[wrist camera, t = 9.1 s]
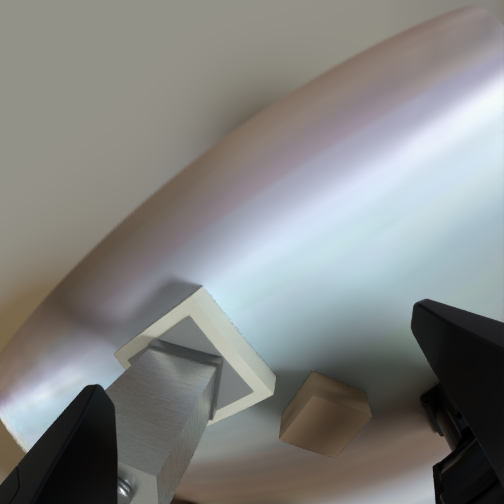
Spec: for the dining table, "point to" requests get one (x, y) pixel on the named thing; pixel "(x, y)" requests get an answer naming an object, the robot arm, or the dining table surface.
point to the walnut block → (324, 415)
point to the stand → (210, 351)
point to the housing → (162, 418)
